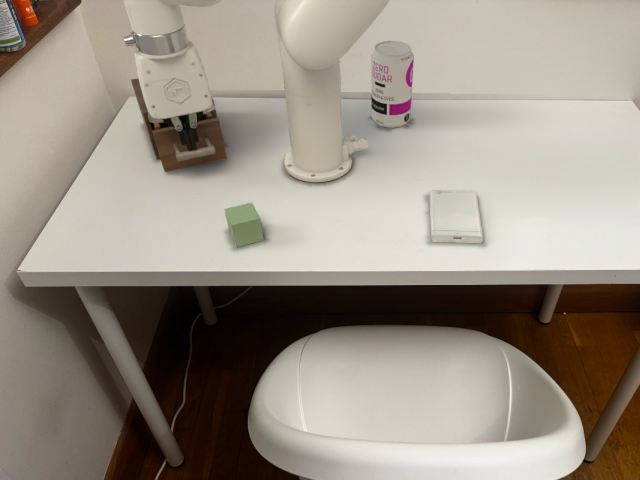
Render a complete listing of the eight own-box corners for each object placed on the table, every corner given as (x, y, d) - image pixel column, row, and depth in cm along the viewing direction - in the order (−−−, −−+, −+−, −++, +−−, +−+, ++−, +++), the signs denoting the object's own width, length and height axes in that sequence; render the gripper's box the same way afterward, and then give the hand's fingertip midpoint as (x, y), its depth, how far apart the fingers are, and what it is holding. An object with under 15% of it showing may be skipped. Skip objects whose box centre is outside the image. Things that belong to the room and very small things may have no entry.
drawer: (234, 172, 102) (226, 133, 97) (169, 186, 99) (158, 147, 93) (210, 125, 114) (202, 88, 109) (152, 137, 110) (141, 99, 105)
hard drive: (429, 189, 98) (432, 234, 89) (476, 190, 98) (483, 235, 89) (429, 197, 99) (431, 242, 91) (475, 198, 99) (482, 243, 91)
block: (256, 224, 93) (252, 202, 90) (264, 240, 90) (260, 217, 87) (229, 231, 92) (224, 209, 89) (236, 247, 89) (231, 225, 86)
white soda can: (412, 112, 121) (416, 41, 111) (407, 131, 115) (410, 58, 105) (375, 108, 122) (376, 37, 112) (368, 127, 116) (367, 54, 106)
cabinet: (223, 146, 110) (213, 99, 104) (156, 160, 106) (142, 112, 100) (206, 112, 120) (196, 68, 113) (144, 124, 116) (130, 79, 109)
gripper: (112, 57, 80) (150, 167, 93) (217, 39, 85) (239, 147, 98) (107, 38, 85) (143, 146, 98) (206, 22, 90) (228, 127, 103)
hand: (191, 146), depth 98 cm, fingers closed
